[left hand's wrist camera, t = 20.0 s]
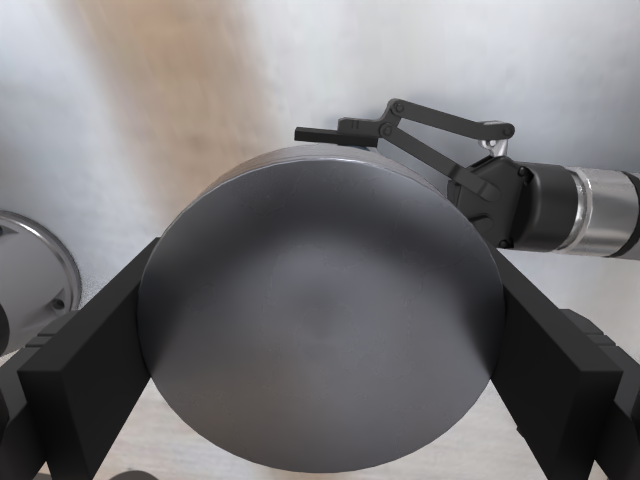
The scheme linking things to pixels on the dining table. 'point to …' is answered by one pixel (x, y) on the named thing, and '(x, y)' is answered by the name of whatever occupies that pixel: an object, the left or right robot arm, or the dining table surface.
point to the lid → (321, 311)
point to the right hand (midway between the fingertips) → (292, 187)
